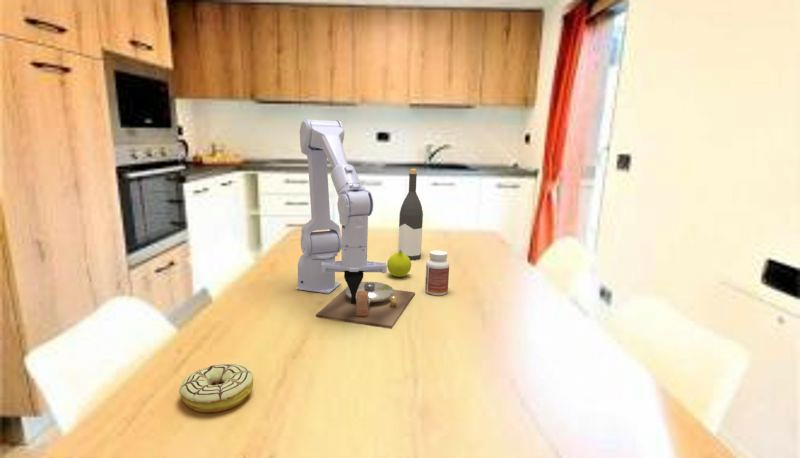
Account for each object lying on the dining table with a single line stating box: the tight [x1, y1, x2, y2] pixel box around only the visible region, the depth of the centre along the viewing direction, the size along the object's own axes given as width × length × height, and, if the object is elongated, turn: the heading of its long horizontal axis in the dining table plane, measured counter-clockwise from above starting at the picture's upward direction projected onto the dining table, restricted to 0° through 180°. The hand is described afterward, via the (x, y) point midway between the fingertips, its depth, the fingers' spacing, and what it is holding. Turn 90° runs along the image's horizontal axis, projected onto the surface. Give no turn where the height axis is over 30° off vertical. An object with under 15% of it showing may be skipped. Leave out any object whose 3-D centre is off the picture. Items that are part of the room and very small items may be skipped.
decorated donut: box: [178, 363, 254, 414], centre depth 71 cm, size 10×11×4 cm
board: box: [315, 288, 416, 329], centre depth 110 cm, size 18×22×2 cm
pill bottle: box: [424, 249, 450, 296], centre depth 120 cm, size 6×6×11 cm
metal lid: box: [345, 281, 394, 316], centre depth 110 cm, size 18×12×5 cm, turn 176°
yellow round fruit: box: [386, 248, 412, 278], centre depth 132 cm, size 7×7×10 cm
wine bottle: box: [397, 168, 424, 261], centre depth 150 cm, size 8×8×30 cm
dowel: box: [390, 295, 397, 308], centre depth 108 cm, size 2×2×3 cm
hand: (353, 302), depth 103 cm, fingers closed
